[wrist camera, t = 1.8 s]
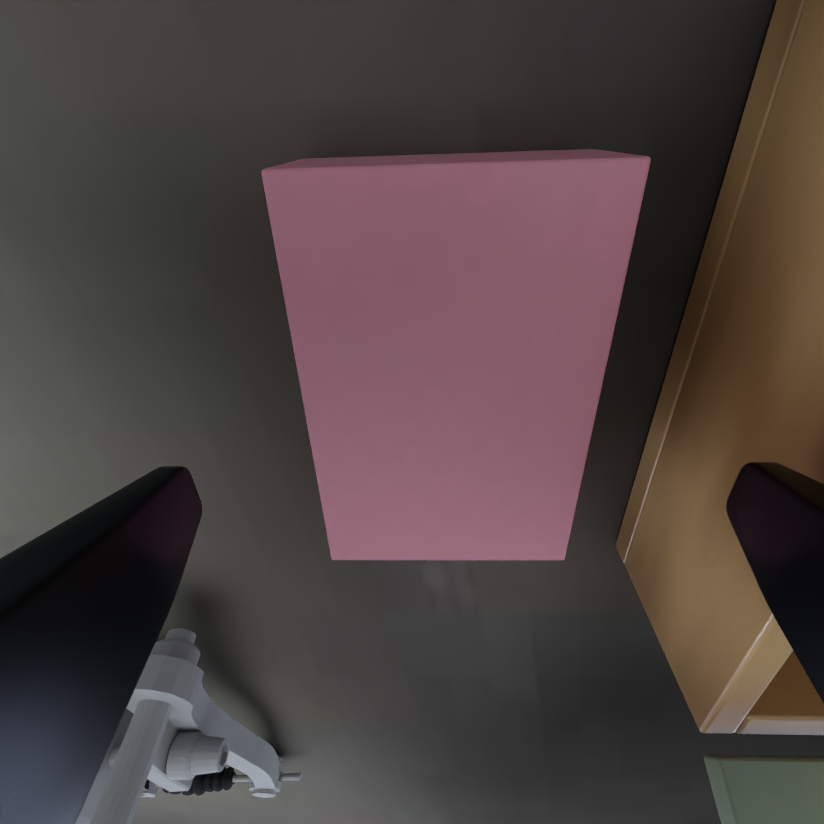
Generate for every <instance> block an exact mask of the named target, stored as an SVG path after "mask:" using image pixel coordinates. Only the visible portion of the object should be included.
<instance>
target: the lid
mask: <svg viewBox="0 0 824 824" xmlns="http://www.w3.org/2000/svg"><path fill="white" fill-rule="evenodd" d="M704 761H705V765H706V769H707V773H708V776H709V780H710V784H711V787H712V791H713V795H714V799H715V802H716V806H717V810H718V813H719V817H720V821H721V824H824V756H772V755H713V754H707V755H705V756H704Z"/></svg>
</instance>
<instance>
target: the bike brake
mask: <svg viewBox="0 0 824 824" xmlns="http://www.w3.org/2000/svg"><path fill="white" fill-rule="evenodd" d="M195 639H196V634H195V633H193V632H192V631H190V630H187V629H182V628H174V629H171V630H169V631H168V632H167V634H166V636H165V638H164V639H161V640H159V641H157V642H156V643H155V645H154V647H153V649H152V651H151V654H150V656H149V658H148V660H147V663H146V665H145V667H144V669H143V672H142V674H141V676H140V678H139V681H138V683H137V685H136V687H135V690H134V692H133V694H132V696H131V699H130V701H129V703H128V706H127V708H126V710H125V712H124V715H123V717H122V719H121V721H120V724H119V726H118V728H117V730H116V733H115V735H114V737H113V739H112V742H111V744H110V746H109V748H108V751H107V753H106V755H105V757H104V760H103V762H102V764H101V766H100V769H99V771H98V773H97V775H96V778H95V780H94V782H93V784H92V787H91V789H90V791H89V793H88V796H87V798H86V800H85V802H84V805H83V807H82V809H81V811H80V814H79V816H78V818H77V820H76V823H75V824H131V822H132V820H133V817H134V814H135V811H136V808H137V806H138V803H139V800H140V797H155V796H156V791H157V788H158V787H159V786H160V787H162V788H163V791H165V792H166V793H168V792H169V793H170V794H179V793H181V792H182V794H183V795H188V796H189V795H191V794H193V793H194V794H196V795H202V794H203V793H204V792H206V791H207V792H212V791H213V790H214V791H221V790H222V789H224V790H229V789H230V788H231V787H232V785H233V784H234V783H235V782H250V786H249V790H250V791H252V792H253V793H252V795H253V796H255V797H261V798H271V797H275V796H276V793H278V792H280V790H281V785H282V783H280V782H279V781H288V780H301V779H302V773H287V774H283V773H284V765H282V764H281V761H282V757H280V756H277V753H276V752H275V750H274V748H273V747H272V746H271V745H270V744H269V743H268V742H266V741H265V740H263V739H262V738H260V737H259V736H257V735H256V734H255V733H253V732H252V731H250V730H249V729H247V728H246V727H244V726H243V725H242V724H240V723H239V722H237V721H236V720H234V719H233V718H231V717H230V716H229V715H228V714H227V713H226V712H225V711H224V710H222V709H221V708H220V707H219V706H218V705H216V704H215V703H214V702H213V701H212V700H211V699H210V698H209V696H208V695H207V693H206V692H205V690H204V687H203V685H202V678H203V674H204V672H203V671H202V670H201V669H200V668H199V667H197V663H198V660H199V657H200V651H199V649H198V648H197V646H195V645H194V643H195ZM226 764H227V765H230V766H232V767H234V768H236V769H238V770H239V771H241V772H243V773H245V774H246V775H236V773H234V769H233V768H232V767H229V768H227V769H226V768H225V765H226ZM144 787H145V789H148V791H143V789H144Z"/></svg>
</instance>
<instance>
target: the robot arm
mask: <svg viewBox="0 0 824 824" xmlns="http://www.w3.org/2000/svg"><path fill="white" fill-rule="evenodd" d="M726 511H727V515H728V518H729V520H730V522H731V525H732V527H733V529H734V532H735V534H736V536H737V538H738V541H739V543H740V545H741V547H742V550H743V552H744V554H745V556H746V559H747V561H748V563H749V565H750V568H751V570H752V572H753V574H754V577H755V579H756V581H757V583H758V586H759V588H760V590H761V592H762V594H763V596H764V598H765V600H766V603H767V605H768V606H769V608H770V610H771V612H772V614H773V616H774V618H775V619H776V621H777V623H778V625H779V626H780V628H781V630H782V632H783V633H784V635H785V637H786V639H787V641H788V642H789V644H790V646H791V648H792V649H793V651H794V653H795V655H796V656H797V658H798V660H799V662H800V663H801V665H802V667H803V669H804V670H805V672H806V674H807V676H808V677H809V679H810V681H811V683H812V684H813V686H814V688H815V690H816V691H817V693H818V695H819V697H820V698H821V700H822V702H823V704H824V484H823V483H821V482H818V481H816V480H814V479H812V478H810V477H807V476H805V475H803V474H801V473H799V472H797V471H794V470H792V469H790V468H788V467H786V466H784V465H781V464H779V463H775V462H750V463H747V464H745V465H744V466H743V467H742V468H741V470H740V472H739V474H738V476H737V478H736V481H735V483H734V485H733V487H732V490H731V492H730V494H729V496H728V499H727V502H726ZM201 515H202V504H201V500H200V498H199V495H198V492H197V489H196V487H195V484H194V481H193V479H192V476H191V474H190V471H189V470H188V469H187V468H185V467H182V466H164V467H159V468H157V469H155V470H153V471H151V472H150V473H148V474H146V475H145V476H143V477H141V478H139V479H138V480H136V481H134V482H132V483H131V484H129V485H127V486H125V487H124V488H122V489H120V490H118V491H117V492H115V493H113V494H112V495H110V496H108V497H106V498H105V499H103V500H101V501H99V502H98V503H96V504H94V505H92V506H91V507H89V508H87V509H85V510H84V511H82V512H80V513H79V514H77V515H75V516H73V517H72V518H70V519H68V520H66V521H65V522H63V523H61V524H59V525H58V526H56V527H54V528H53V529H51V530H49V531H47V532H46V533H44V534H42V535H40V536H39V537H37V538H35V539H33V540H32V541H30V542H28V543H26V544H25V545H23V546H21V547H20V548H18V549H16V550H14V551H13V552H11V553H9V554H7V555H6V556H4V557H2V558H0V824H75V823H76V820H77V818H78V816H79V814H80V811H81V809H82V807H83V805H84V802H85V800H86V798H87V796H88V793H89V791H90V789H91V787H92V784H93V782H94V780H95V778H96V775H97V773H98V771H99V769H100V766H101V764H102V762H103V760H104V757H105V755H106V753H107V751H108V748H109V746H110V744H111V742H112V739H113V737H114V735H115V733H116V730H117V728H118V726H119V724H120V721H121V719H122V717H123V715H124V712H125V710H126V708H127V706H128V703H129V701H130V699H131V696H132V694H133V692H134V690H135V687H136V685H137V683H138V681H139V678H140V676H141V674H142V672H143V669H144V667H145V665H146V663H147V660H148V658H149V656H150V654H151V651H152V649H153V647H154V645H155V642H156V640H157V638H158V636H159V633H160V631H161V629H162V627H163V624H164V622H165V620H166V618H167V615H168V613H169V611H170V608H171V606H172V603H173V601H174V598H175V595H176V593H177V590H178V587H179V584H180V581H181V578H182V575H183V572H184V569H185V565H186V562H187V559H188V556H189V553H190V550H191V547H192V544H193V541H194V538H195V535H196V531H197V528H198V525H199V522H200V519H201Z"/></svg>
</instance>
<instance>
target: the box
mask: <svg viewBox="0 0 824 824" xmlns="http://www.w3.org/2000/svg"><path fill="white" fill-rule="evenodd" d="M750 462H775V463H779V464H781V465H784V466H786V467H788V468H790V469H792V470H794V471H797V472H799V473H801V474H803V475H805V476H807V477H810V478H812V479H814V480H816V481H818V482H821V483H823V484H824V0H777V1H776V4H775V8H774V11H773V15H772V18H771V21H770V25H769V28H768V31H767V35H766V38H765V42H764V45H763V48H762V52H761V55H760V58H759V62H758V65H757V69H756V72H755V75H754V79H753V82H752V86H751V89H750V92H749V96H748V99H747V102H746V106H745V109H744V113H743V116H742V119H741V123H740V126H739V129H738V133H737V136H736V140H735V143H734V146H733V150H732V153H731V157H730V160H729V163H728V167H727V170H726V173H725V177H724V180H723V184H722V187H721V190H720V194H719V197H718V200H717V204H716V207H715V211H714V214H713V217H712V221H711V224H710V227H709V231H708V234H707V238H706V241H705V244H704V248H703V251H702V255H701V258H700V261H699V265H698V268H697V271H696V275H695V278H694V282H693V285H692V288H691V292H690V295H689V298H688V302H687V305H686V309H685V312H684V315H683V319H682V322H681V325H680V329H679V332H678V336H677V339H676V342H675V346H674V349H673V353H672V356H671V359H670V363H669V366H668V369H667V373H666V376H665V380H664V383H663V386H662V390H661V393H660V396H659V400H658V403H657V407H656V410H655V413H654V417H653V420H652V424H651V427H650V430H649V434H648V437H647V440H646V444H645V447H644V451H643V454H642V457H641V461H640V464H639V467H638V471H637V474H636V478H635V481H634V484H633V488H632V491H631V494H630V498H629V501H628V505H627V508H626V511H625V515H624V518H623V522H622V525H621V528H620V532H619V535H618V538H617V542H616V548H617V550H618V552H619V554H620V557H621V559H622V561H623V563H624V564H625V567H626V569H627V572H628V574H629V576H630V578H631V580H632V583H633V585H634V587H635V589H636V591H637V594H638V596H639V598H640V600H641V603H642V605H643V607H644V609H645V611H646V614H647V616H648V618H649V620H650V622H651V625H652V627H653V629H654V631H655V633H656V636H657V638H658V640H659V642H660V645H661V647H662V649H663V651H664V653H665V656H666V658H667V660H668V662H669V664H670V667H671V669H672V671H673V673H674V675H675V678H676V680H677V682H678V684H679V687H680V689H681V691H682V693H683V695H684V698H685V700H686V702H687V704H688V706H689V709H690V711H691V713H692V715H693V718H694V720H695V722H696V724H697V726H698V729H699V730H700V732H702V733H734V732H736V733H738V734H789V735H824V704H823V702H822V700H821V698H820V697H819V695H818V693H817V691H816V690H815V688H814V686H813V684H812V683H811V681H810V679H809V677H808V676H807V674H806V672H805V670H804V669H803V667H802V665H801V663H800V662H799V660H798V658H797V656H796V655H795V653H794V651H793V649H792V648H791V646H790V644H789V642H788V641H787V639H786V637H785V635H784V633H783V632H782V630H781V628H780V626H779V625H778V623H777V621H776V619H775V618H774V616H773V614H772V612H771V610H770V608H769V606H768V605H767V603H766V600H765V598H764V596H763V594H762V592H761V590H760V588H759V586H758V583H757V581H756V579H755V577H754V574H753V572H752V570H751V568H750V565H749V563H748V561H747V559H746V556H745V554H744V552H743V550H742V547H741V545H740V543H739V541H738V538H737V536H736V534H735V532H734V529H733V527H732V525H731V522H730V520H729V518H728V515H727V511H726V502H727V499H728V496H729V494H730V492H731V490H732V487H733V485H734V483H735V481H736V478H737V476H738V474H739V472H740V470H741V468H742V467H743V466H744V465H745V464H747V463H750Z"/></svg>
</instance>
